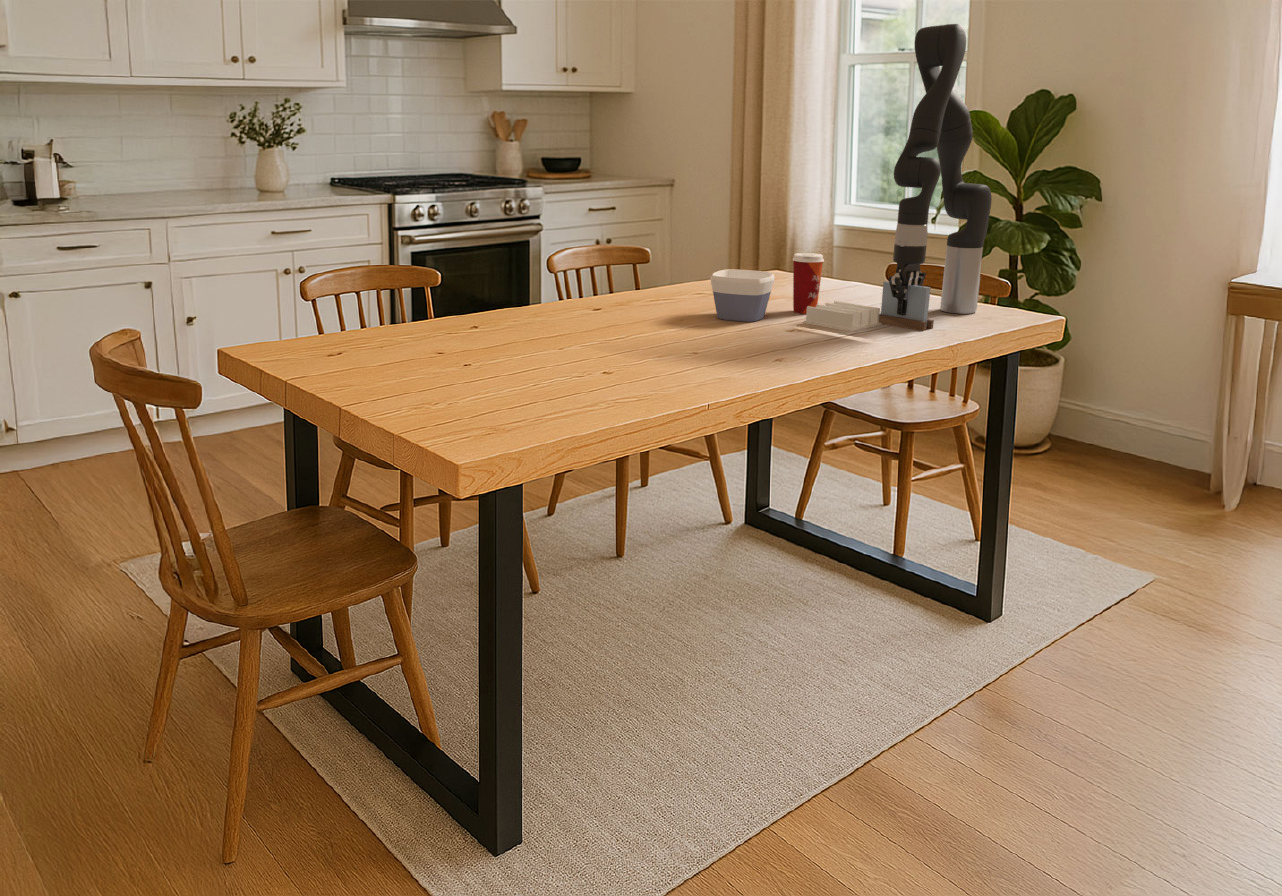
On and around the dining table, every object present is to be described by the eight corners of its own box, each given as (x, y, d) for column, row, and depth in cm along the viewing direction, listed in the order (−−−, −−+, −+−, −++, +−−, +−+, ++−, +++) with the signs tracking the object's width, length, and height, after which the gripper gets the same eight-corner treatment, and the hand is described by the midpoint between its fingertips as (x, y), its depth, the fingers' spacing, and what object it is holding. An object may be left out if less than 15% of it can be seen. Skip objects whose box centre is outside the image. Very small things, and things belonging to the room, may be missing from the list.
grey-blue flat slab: (884, 321, 272) (887, 281, 269) (926, 328, 264) (930, 287, 261) (880, 321, 270) (883, 281, 267) (922, 329, 262) (926, 288, 259)
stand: (883, 322, 274) (884, 311, 273) (933, 331, 264) (934, 320, 263) (872, 325, 270) (873, 314, 269) (922, 334, 261) (923, 322, 260)
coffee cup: (819, 315, 281) (823, 257, 277) (787, 313, 283) (791, 256, 278) (821, 309, 289) (825, 253, 284) (790, 308, 291) (793, 251, 286)
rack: (833, 319, 277) (835, 300, 275) (880, 327, 268) (882, 308, 266) (803, 325, 268) (804, 306, 267) (850, 334, 259) (852, 314, 257)
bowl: (702, 320, 273) (704, 275, 270) (721, 310, 287) (723, 267, 283) (761, 325, 268) (763, 280, 264) (778, 315, 281) (780, 272, 278)
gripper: (912, 239, 268) (905, 308, 273) (881, 243, 259) (875, 315, 264) (939, 242, 263) (932, 313, 268) (908, 246, 254) (902, 320, 259)
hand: (903, 314), depth 266 cm, fingers closed on grey-blue flat slab, 2 cm apart
